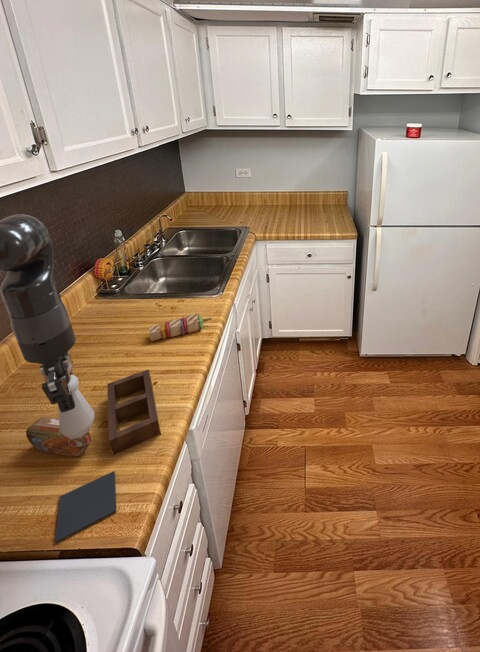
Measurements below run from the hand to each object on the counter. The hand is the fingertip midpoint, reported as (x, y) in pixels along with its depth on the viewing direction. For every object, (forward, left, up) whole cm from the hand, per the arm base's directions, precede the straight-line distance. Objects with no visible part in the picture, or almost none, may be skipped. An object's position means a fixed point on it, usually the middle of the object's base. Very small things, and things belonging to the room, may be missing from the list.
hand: (69, 399), depth 64 cm
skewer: (+26, +43, -24) cm, 56 cm away
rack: (+8, +14, -24) cm, 29 cm away
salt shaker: (0, 0, -8) cm, 8 cm away
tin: (-7, +12, -24) cm, 28 cm away
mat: (-2, -5, -24) cm, 25 cm away
